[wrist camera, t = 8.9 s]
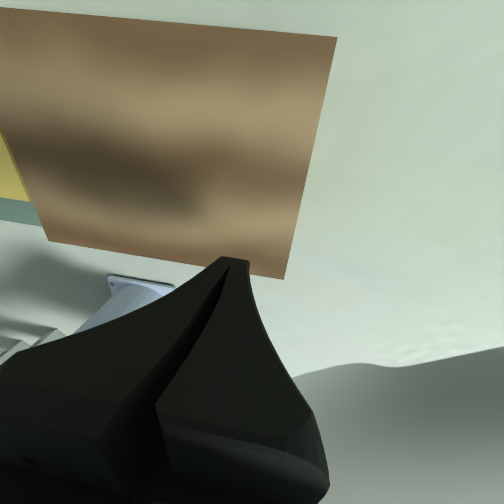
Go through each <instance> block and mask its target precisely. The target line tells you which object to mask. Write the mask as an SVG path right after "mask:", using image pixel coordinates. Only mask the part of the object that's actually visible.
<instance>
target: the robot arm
mask: <svg viewBox="0 0 504 504" xmlns="http://www.w3.org/2000/svg"><path fill="white" fill-rule="evenodd" d="M249 269H250V262H249V261H248V260H244V259H238V258H232V257H225V256H221V257H219V258H218V259H217V260H215V261H214V262H213V263H212V264H210V265H209V266H208V267H206V268H205V269H204V270H203V271H201V272H200V273H198V274H197V275H196V276H194V277H193V278H192V279H190V280H189V281H187V282H186V283H184V284H183V285H181V286H180V287H178V288H177V289H176V288H175V287H173V286H170V285H164V284H159V283H153V282H147V281H141V280H135V279H130V278H124V277H118V276H112V275H110V276H109V277H108V278H107V281H108V285H109V288H110V292H111V295H112V297H111V298H110V299H109V300H108V301H107V302H106V303H105V304H104V305H103V306H102V307H101V308H100V309H99V310H98V311H97V312H96V313H94V314H93V315H92V316H91V317H90V318H89V319H88V320H87V321H86V322H85V323H84V324H83V325H82V326H81V327H80V328H79V329H78V330H77V331H76V332H74V333H73V334H72V335H70V336H67V337H63V338H60V339H57V340H54V341H50V342H47V343H44V344H41V345H38V346H34V347H31V348H28V349H24V350H21V351H17V352H16V353H15V354H13V355H12V356H11V357H10V358H8V359H7V360H6V361H5V362H3V363H2V364H1V365H0V504H318V503H319V501H320V500H321V499H322V498H323V497H324V496H325V494H326V493H327V491H328V489H329V486H330V481H329V471H328V466H327V461H326V456H325V452H324V447H323V443H322V440H321V436H320V432H319V429H318V426H317V422H316V419H315V416H314V413H313V411H312V409H311V408H310V406H309V405H308V403H307V402H306V400H305V399H304V397H303V396H302V395H301V393H300V391H299V390H298V388H297V387H296V385H295V383H294V382H293V380H292V379H291V377H290V375H289V374H288V372H287V370H286V369H285V367H284V365H283V363H282V362H281V360H280V358H279V356H278V354H277V352H276V350H275V348H274V346H273V345H272V343H271V341H270V339H269V337H268V334H267V332H266V330H265V328H264V325H263V323H262V320H261V318H260V315H259V312H258V310H257V307H256V303H255V300H254V296H253V292H252V288H251V283H250V275H249Z"/></svg>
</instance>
